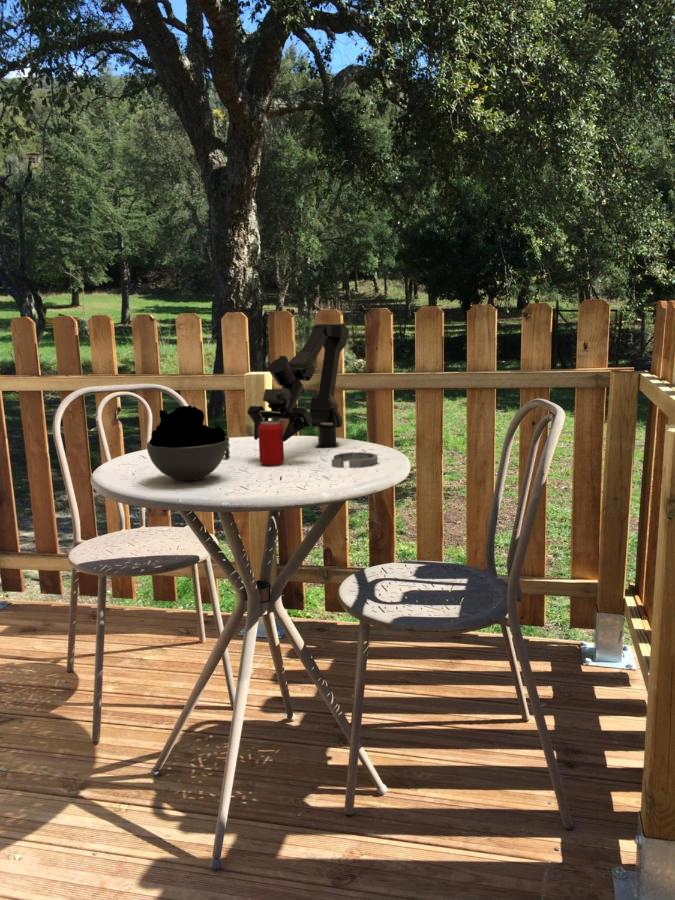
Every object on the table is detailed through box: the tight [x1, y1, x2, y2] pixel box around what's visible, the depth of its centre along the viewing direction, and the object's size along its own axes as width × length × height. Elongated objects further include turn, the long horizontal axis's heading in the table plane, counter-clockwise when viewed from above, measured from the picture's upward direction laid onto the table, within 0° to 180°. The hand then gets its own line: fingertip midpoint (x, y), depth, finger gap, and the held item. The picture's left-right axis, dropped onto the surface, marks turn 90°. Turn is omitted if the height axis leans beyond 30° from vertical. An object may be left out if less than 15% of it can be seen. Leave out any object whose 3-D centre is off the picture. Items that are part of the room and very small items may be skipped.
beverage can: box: [258, 420, 285, 467], centre depth 211 cm, size 7×7×12 cm
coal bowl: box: [146, 405, 227, 482], centre depth 192 cm, size 20×20×19 cm
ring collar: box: [331, 451, 378, 469], centre depth 211 cm, size 12×12×2 cm
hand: (269, 439), depth 210 cm, fingers open, 9 cm apart
